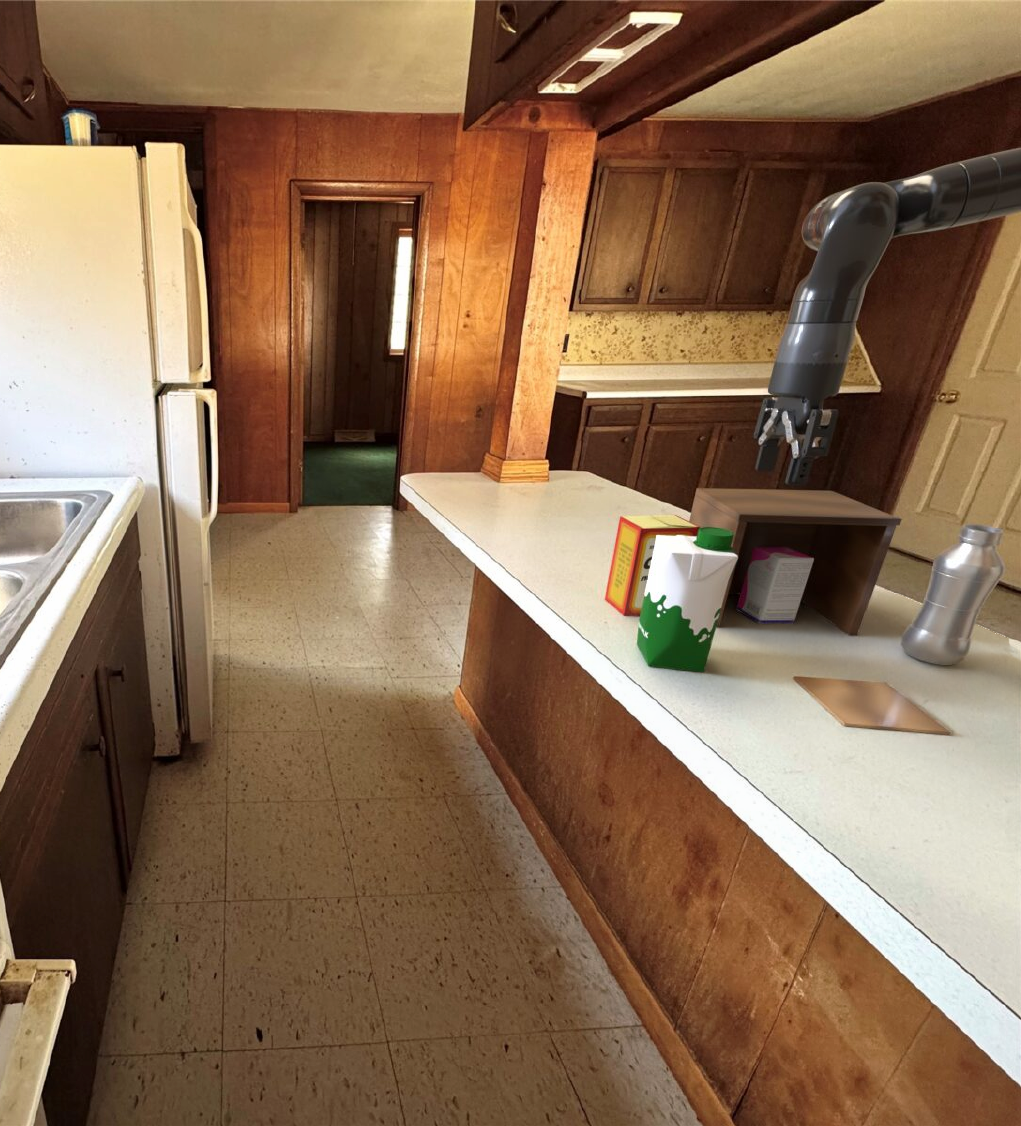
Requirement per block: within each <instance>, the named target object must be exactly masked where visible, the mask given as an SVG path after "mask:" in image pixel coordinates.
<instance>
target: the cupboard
mask: <svg viewBox="0 0 1021 1126" xmlns="http://www.w3.org/2000/svg"><path fill="white" fill-rule="evenodd" d="M902 520H903V519H902V518H900V517H896V516H895V515H891V514H889V513H887V512H884V511H882V510H879V509H877V508H875V507H872V506H869V505H867V504H865V503H863V502H861V501H858V500H855V499H853V498H850V497H849V496H845V495H843V494H840V493H838V492H835V491H833V490H817V489H816V490H814V489H812V490H809V489H768V488H767V489H766V488H765V489H763V488H761V489H760V488H759V489H758V488H707V487H696V490H695V495H694V498H693V502H692V507H691V512H690V516H689V520H688V521H689V522H691V523H693V524H695V525H698V526H700V528H702V527H715V528H722V529H726V530H729V531H731V532H733V533H734V536H733V540H732V544H731V547H732V548H733V551H734V552H735V554H736V555H737V556H738V559H737V561H736V564H735V566H734V568H733V571H732V573H731V575H730V578H729V581H728V584H727V588H726V591H725V595H724V599H723V603H722V607H721V610H720V614H719V618H718V622H717V626H716V628H720V626H721V623H722V618H723V615H724V611H725V607H726V605H727V599H728V596H729V595H740V594H741V591H742V587H743V584H744V580H745V577H746V573H747V570H748V567H749V563H750V560H751V556H752V553H753V549H754V547H789V548H791V549H793V550H796V551H798V552H800V553H803V554H805V555H807V556H810V557H812V558H814V561H813V564H812V567H811V570H810V573H809V576H808V580H807V583H806V586H805V589H804V592H803V595H802V598H801V601H800V602H802V603H803V604H804V605H805V606H807V607H809V608H810V609H812V610H813V611H814V612H816V613H817V614H818V615H820V616H821V617H822V618H824V619H825V620H827V621H828V622H830V624H832V625H834V626H835V627H836V628H838V629H839V630H840V631H842V633H845V634H846V635H848V636H854V637H855V636H858V635H859V631H860V629H861V627H862V623H863V620H864V619H865V615H866V612H867V609H868V606H869V604H870V600H871V599H872V595H873V593H874V591H875V590H874V589H875V587H876V585H877V582H878V579H879V576H880V573H881V570H882V568H883V566H884V562H885V560H886V556H887V554H888V551H889V548H890V546H891V544H892V543H891V542H892V540H893V537H894V534H895V532H896V528H897V526H900V525H901V522H902Z"/></svg>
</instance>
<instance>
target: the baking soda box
mask: <svg viewBox="0 0 1021 1126" xmlns="http://www.w3.org/2000/svg"><path fill="white" fill-rule="evenodd" d="M699 529H700V526H698V525H695V524H693V523H691V522H689V520H688V519H685V518H683V517H681V516H679V515H677V514H649V515H630V516H629V515H628V516H626V515H625V516H619V520H618V526H617V530H616V536H615V542H614V548H613V552H612V558H611V564H610V569H609V574H608V579H607V584H606V590H605V596H604V601H606V602H607V603H608V604H610V606H611V607H612V608H614V609H615V610H616V611H618V612H619V614H620V615H622V616H625V617H627V616H640V614H641V609H642V604H643V599H644V594H645V590H646V585H647V580H648V575H649V570H650V566H651V561H652V556H653V552H654V547H655V542H656V536H657V535H665V536H676V535H684V536H694V537H697V534H698V530H699Z"/></svg>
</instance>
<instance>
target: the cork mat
mask: <svg viewBox="0 0 1021 1126" xmlns="http://www.w3.org/2000/svg"><path fill="white" fill-rule="evenodd" d="M792 679H793V680H794V681H795V682H796V683H797V684H798V685H799V686H801V688H803V689H804V690H805V692H807V693H808V694H809V695H810V696H811V697H812V698H813V699H814V700H816V701H817V703H819V704H820V705H821V706H822V707H823V708H824V709H825V710H826V711H827V712H828V713H829V714H830V715H831V716H832V717H834V718H835V720H836V721H838V722H839V723H840V724H841V725H842V726H844V727H852V728H854V727H855V728H866V729H878V730H888V731H889V730H890V731H900V732H901V731H902V732H912V733H923V734H924V733H925V734H937V735H946V736H947V735H948V736H950V735H951V734H952V732H951V731H950V730H949V729H947V728H946V727H945V726H944V725H943V724H941V723H940V722H938V721H937V720H936V719H935V718H933V717H932V716H931V715H929V714H928V713H927V712H925V711H924V710H923V709H921V708H920V707H919V706H918V705H916V704H915V703H914V702H912V701H911V700H910V699H909V698H907V697H906V696H905V695H903V693H901V692H899V691H898V690H897V689H896V688H894V687H893V686H891V685H890V684H889V683H888V682H885V681H883V682H882V681H870V680H857V679H856V680H855V679H841V678H829V677H814V676H813V677H812V676H803V675H801V676H799V675H793V677H792Z"/></svg>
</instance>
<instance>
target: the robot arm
mask: <svg viewBox="0 0 1021 1126" xmlns="http://www.w3.org/2000/svg"><path fill="white" fill-rule="evenodd" d="M1018 213H1021V147H1017V148H1011V149H1008V150H1003V151H999V152H994V153H990V154H986V155H982V156H977V157H973V158H969V159H964V160H960V161H957V162H953V163H949V164H945V165H942V166H939V167H935V168H933V169H929V170H926V171H924V172H921V173H919V174H918V173H917V174H916V175H913V176H909V177H905V178H901V179H896V180H891V181H887V182H886V181H885V182H880V181H879V182H877V181H871V182H864V183H861V184H857V185H855V186H852V187H849V188H845V189H843V190H840V191H838V192H835V193H832V194H830V195H828V196H826V197H825V198H823V199H822V200H820V201H819V202H818V203H816V204H815V206H813V207H812V208H811V209H810V210H809V212H808V213H807V214H806V216H805V218H804V219H803V222H802V226H801V238H802V240H803V243H805V245H806V246H807V247H808V248H809V249H811V250H813V251H816V252H817V253H816V256H815V259H814V261H813V264H812V266H811V270H810V271H809V273H808V274H807V275H806V276H805V277H804V278H802V279H801V280H800V281H799V283H798V284H797V285H796V288H795V291H794V293H793V297H792V300H791V301H792V302H791V305H790V309H789V313H788V317H787V320H786V325H785V327H784V330H783V332H782V334H781V338H780V340H779V343H778V347H777V351H776V354H775V359H774V363H773V366H772V371H771V374H770V375H771V376H770V379H769V382H768V386H767V393H768V394H769V395H770V396H775V397H764V399H763V400H762V403H761V407H760V411H759V415H758V418H757V420H756V421H757V422H756V425H755V429H754V432H753V439H758V445H759V446H760V447H759V450H758V455H757V459H756V463H755V467H754V468H755V470H756V471H758V472H763V473H764V472H767V473H768V472H770V473H771V472H773V471H775V468H776V465H777V461H778V457H779V453H780V449H781V446H780V445H781V444H782V443H783V441H784V440H785V439H786V442H787V443H788V444H789V445H791V451H792V457H791V459H790V461H789V462H790V463H789V466H788V469H787V474H786V478H785V480H784V482H785V484H786V485H788V486H790V487H791V486H794V487H795V486H796V487H797V486H798V487H800V486H801V487H803V486H805V485H807V484H808V479H809V476H810V473H811V469H812V466H813V462H814V460H815V459H817V458H819V457H827V456H828V454H829V452H830V448H831V444H832V440H833V436H834V432H835V429H836V425H837V420H838V417H839V410H838V409H837V408H835V409H833V408H832V409H831V408H829V409H824V400H825V399H827V398H833V397H835V396H837V395H838V394H839V392H840V389H841V386H842V383H843V380H844V376H845V372H846V368H847V365H848V361H849V359H850V355H851V351H852V348H853V345H854V340H855V333H856V326H857V321H858V319H859V315H860V311H861V308H862V305H863V301H864V297H865V294H866V293H865V292H866V288H867V285H868V283H869V281H870V279H871V277H872V276H873V275H874V273H875V271H876V269H877V267H878V266H879V263H880V261H881V259H882V258H883V256H884V253H885V252H886V249H887V247H889V244H890V242H891V239H893V238H898V237H901V236H906V235H912V234H913V235H914V234H923V233H931V232H937V231H942V230H943V231H944V230H947V229H952V228H957V227H960V226H961V227H962V226H966V225H971V224H975V223H981V222H985V221H989V220H992V219H993V220H994V219H997V218H1002V217H1006V216H1010V215H1014V214H1018ZM820 440H821V441H820ZM819 441H820V445H819Z"/></svg>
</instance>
